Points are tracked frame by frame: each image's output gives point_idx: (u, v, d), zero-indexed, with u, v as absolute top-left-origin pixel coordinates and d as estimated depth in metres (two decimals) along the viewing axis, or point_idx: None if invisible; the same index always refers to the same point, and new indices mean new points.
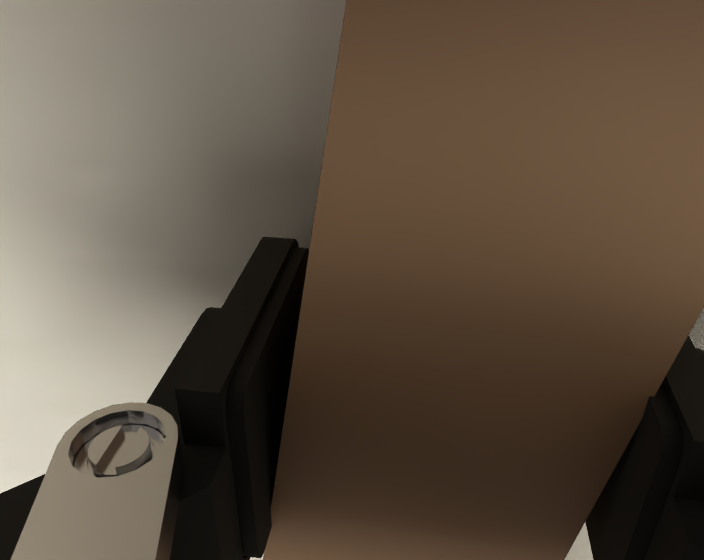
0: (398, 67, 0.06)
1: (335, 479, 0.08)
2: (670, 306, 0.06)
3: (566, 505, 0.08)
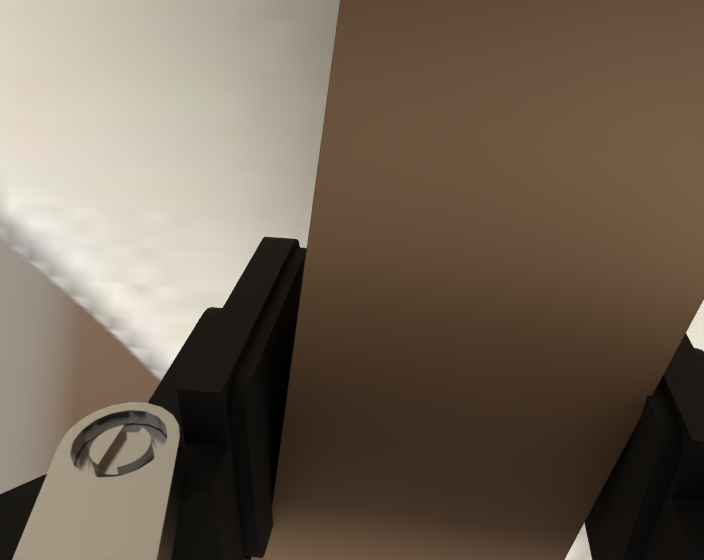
0: (391, 72, 0.06)
1: (336, 480, 0.08)
2: (666, 306, 0.06)
3: (564, 505, 0.08)
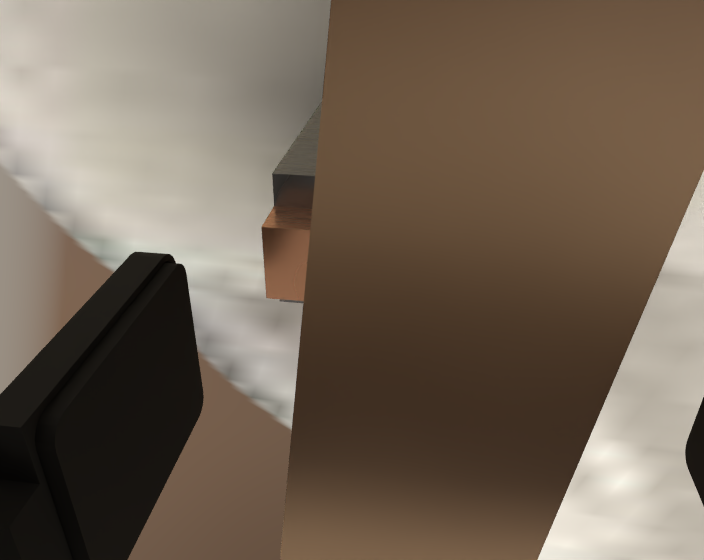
0: (380, 50, 0.06)
1: (346, 435, 0.09)
2: (638, 254, 0.07)
3: (558, 450, 0.09)
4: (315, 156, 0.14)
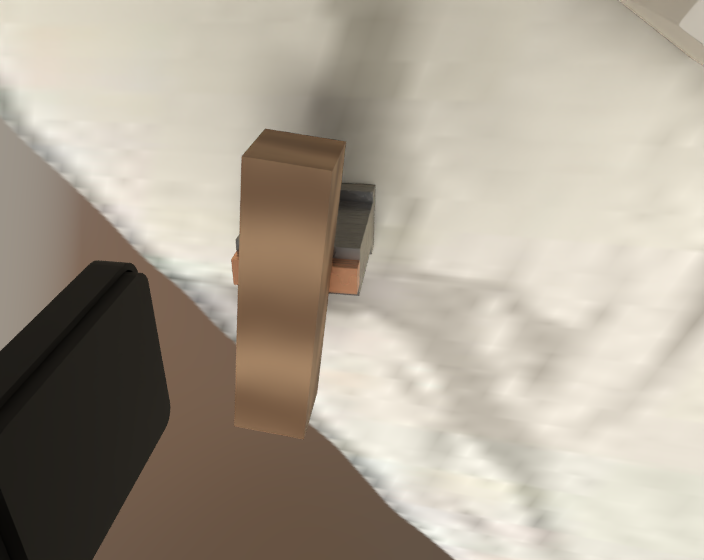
0: (251, 227, 0.29)
1: (252, 322, 0.32)
2: (315, 271, 0.30)
3: (309, 324, 0.32)
4: None
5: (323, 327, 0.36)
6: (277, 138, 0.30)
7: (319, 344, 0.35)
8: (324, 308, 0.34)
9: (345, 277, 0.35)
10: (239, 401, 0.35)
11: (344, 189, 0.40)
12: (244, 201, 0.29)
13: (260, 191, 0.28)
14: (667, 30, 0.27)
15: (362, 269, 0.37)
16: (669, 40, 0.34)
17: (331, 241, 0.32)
